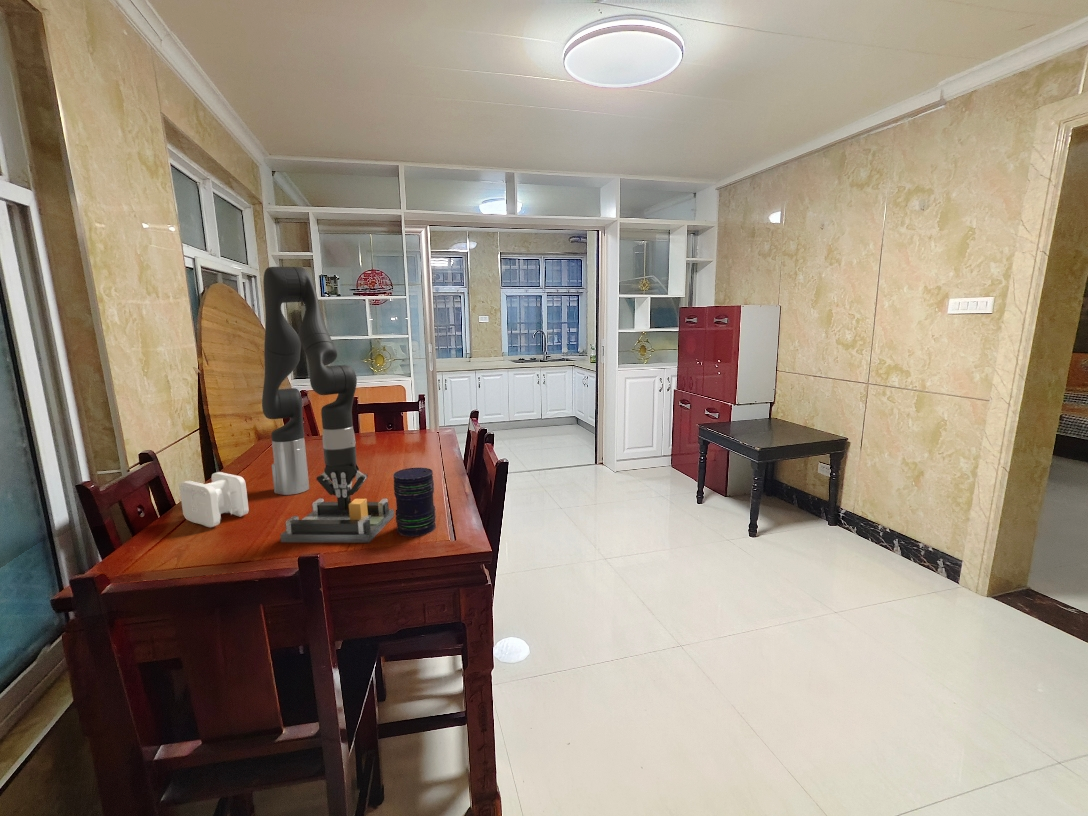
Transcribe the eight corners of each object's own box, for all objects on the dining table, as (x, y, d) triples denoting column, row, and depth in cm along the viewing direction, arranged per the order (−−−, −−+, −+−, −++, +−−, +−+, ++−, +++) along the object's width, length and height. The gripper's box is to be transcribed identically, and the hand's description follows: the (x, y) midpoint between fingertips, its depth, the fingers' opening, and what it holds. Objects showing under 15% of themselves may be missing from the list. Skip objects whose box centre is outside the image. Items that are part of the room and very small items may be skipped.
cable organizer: (252, 517, 135) (247, 477, 133) (212, 531, 126) (206, 488, 124) (221, 509, 142) (216, 470, 140) (181, 521, 133) (175, 481, 131)
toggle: (347, 523, 123) (345, 504, 122) (354, 517, 128) (353, 498, 127) (364, 523, 123) (362, 504, 122) (371, 517, 127) (369, 498, 126)
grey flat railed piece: (281, 542, 118) (278, 522, 117) (316, 515, 135) (315, 498, 134) (369, 542, 117) (367, 522, 116) (394, 515, 134) (392, 498, 133)
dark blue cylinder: (399, 539, 118) (395, 480, 116) (394, 525, 127) (390, 470, 125) (439, 532, 122) (436, 475, 120) (432, 518, 131) (429, 465, 129)
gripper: (306, 448, 119) (312, 515, 121) (358, 448, 118) (363, 515, 121) (321, 441, 126) (327, 504, 129) (371, 441, 125) (375, 504, 128)
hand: (345, 510), depth 125 cm, fingers closed
